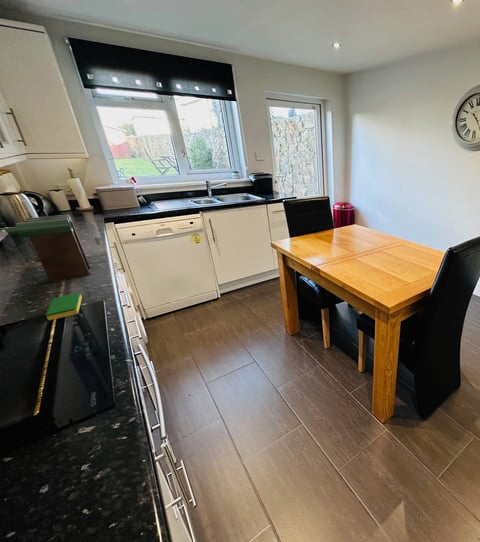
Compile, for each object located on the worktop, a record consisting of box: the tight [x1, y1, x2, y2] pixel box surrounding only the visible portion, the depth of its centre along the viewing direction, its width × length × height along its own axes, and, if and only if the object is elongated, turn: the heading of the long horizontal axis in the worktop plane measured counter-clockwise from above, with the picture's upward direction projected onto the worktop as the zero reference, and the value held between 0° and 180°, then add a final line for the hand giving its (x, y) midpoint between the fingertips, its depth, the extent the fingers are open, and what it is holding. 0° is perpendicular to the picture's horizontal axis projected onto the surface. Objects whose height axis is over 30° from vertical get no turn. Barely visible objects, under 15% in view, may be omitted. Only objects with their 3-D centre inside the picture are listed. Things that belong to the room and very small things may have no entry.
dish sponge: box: [45, 292, 83, 321], centre depth 96 cm, size 7×14×2 cm, turn 38°
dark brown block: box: [22, 214, 92, 283], centre depth 116 cm, size 12×10×25 cm
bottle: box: [0, 219, 73, 238], centre depth 100 cm, size 21×5×5 cm, turn 130°
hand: (7, 230), depth 97 cm, fingers closed on bottle, 2 cm apart
